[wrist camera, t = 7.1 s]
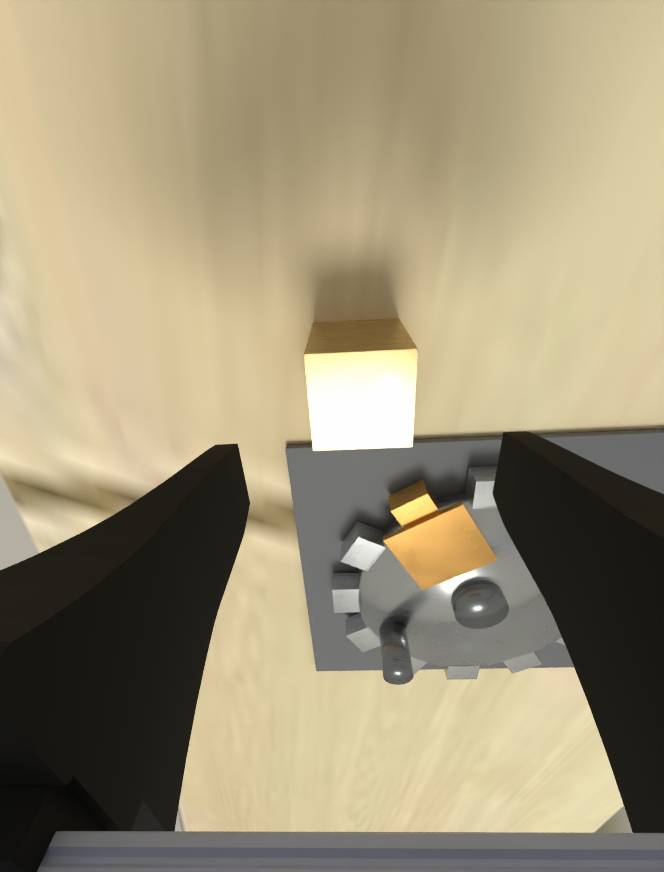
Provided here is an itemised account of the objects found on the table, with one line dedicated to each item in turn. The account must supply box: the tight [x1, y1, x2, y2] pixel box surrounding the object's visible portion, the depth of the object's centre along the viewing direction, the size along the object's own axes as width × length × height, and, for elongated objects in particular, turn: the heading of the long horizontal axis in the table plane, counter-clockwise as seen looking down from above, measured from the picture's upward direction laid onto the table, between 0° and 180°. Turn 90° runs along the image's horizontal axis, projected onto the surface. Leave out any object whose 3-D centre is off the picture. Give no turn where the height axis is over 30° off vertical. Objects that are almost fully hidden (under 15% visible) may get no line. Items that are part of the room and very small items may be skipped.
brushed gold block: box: [304, 318, 418, 451], centre depth 17 cm, size 4×4×5 cm
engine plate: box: [286, 429, 664, 671], centre depth 26 cm, size 22×21×1 cm
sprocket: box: [332, 466, 565, 685], centre depth 23 cm, size 18×18×4 cm
